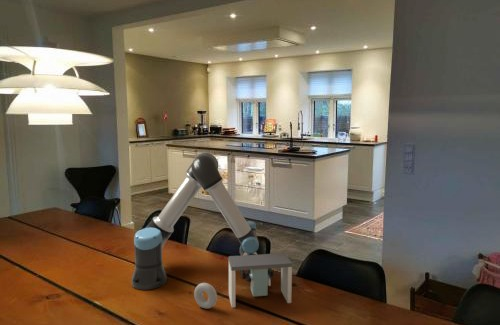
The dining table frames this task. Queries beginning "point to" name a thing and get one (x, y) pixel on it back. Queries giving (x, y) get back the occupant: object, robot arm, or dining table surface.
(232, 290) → the stand
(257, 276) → the pale teal block
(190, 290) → the dining table surface
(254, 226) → the robot arm
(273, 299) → the dining table surface
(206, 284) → the donut
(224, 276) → the dining table surface
